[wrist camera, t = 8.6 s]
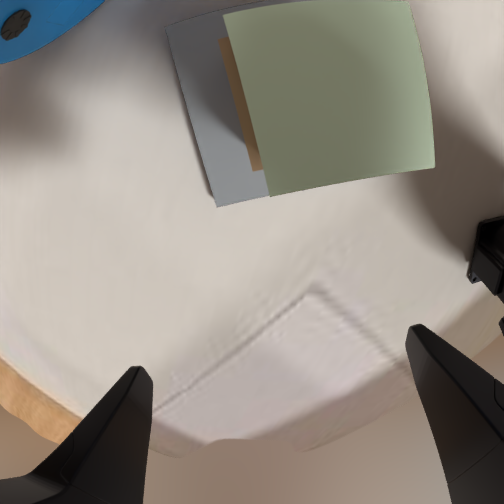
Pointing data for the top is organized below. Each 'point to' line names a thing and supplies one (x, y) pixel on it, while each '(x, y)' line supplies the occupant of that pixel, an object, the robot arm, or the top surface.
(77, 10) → the alarm clock
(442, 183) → the top surface
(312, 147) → the sage cube
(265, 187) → the mat
